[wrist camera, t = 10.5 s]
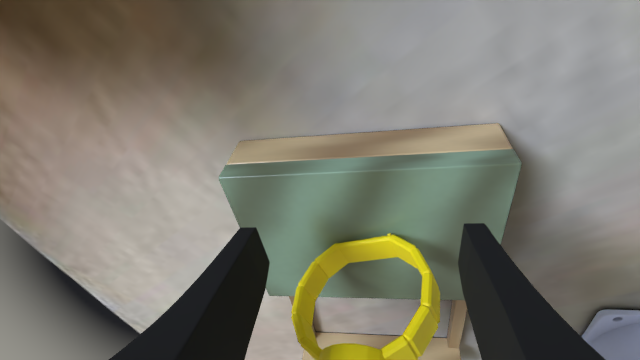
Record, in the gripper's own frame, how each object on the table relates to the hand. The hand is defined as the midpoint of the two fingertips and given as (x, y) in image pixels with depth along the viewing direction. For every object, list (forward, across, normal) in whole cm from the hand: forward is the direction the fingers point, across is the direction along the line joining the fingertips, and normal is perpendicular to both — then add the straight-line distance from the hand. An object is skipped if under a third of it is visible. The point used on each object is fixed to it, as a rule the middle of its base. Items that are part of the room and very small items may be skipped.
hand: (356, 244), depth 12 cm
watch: (+3, 0, +3) cm, 4 cm away
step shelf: (+6, 0, +9) cm, 10 cm away
